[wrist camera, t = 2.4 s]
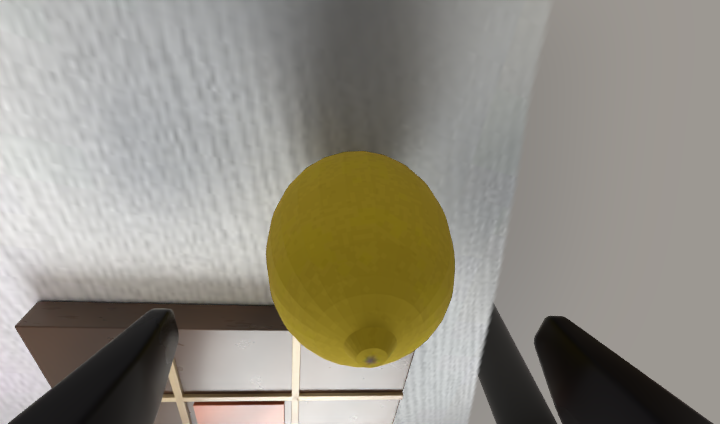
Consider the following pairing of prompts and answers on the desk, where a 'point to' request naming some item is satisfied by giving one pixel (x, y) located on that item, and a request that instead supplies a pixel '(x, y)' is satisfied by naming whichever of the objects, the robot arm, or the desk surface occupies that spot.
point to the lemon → (360, 259)
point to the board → (222, 365)
